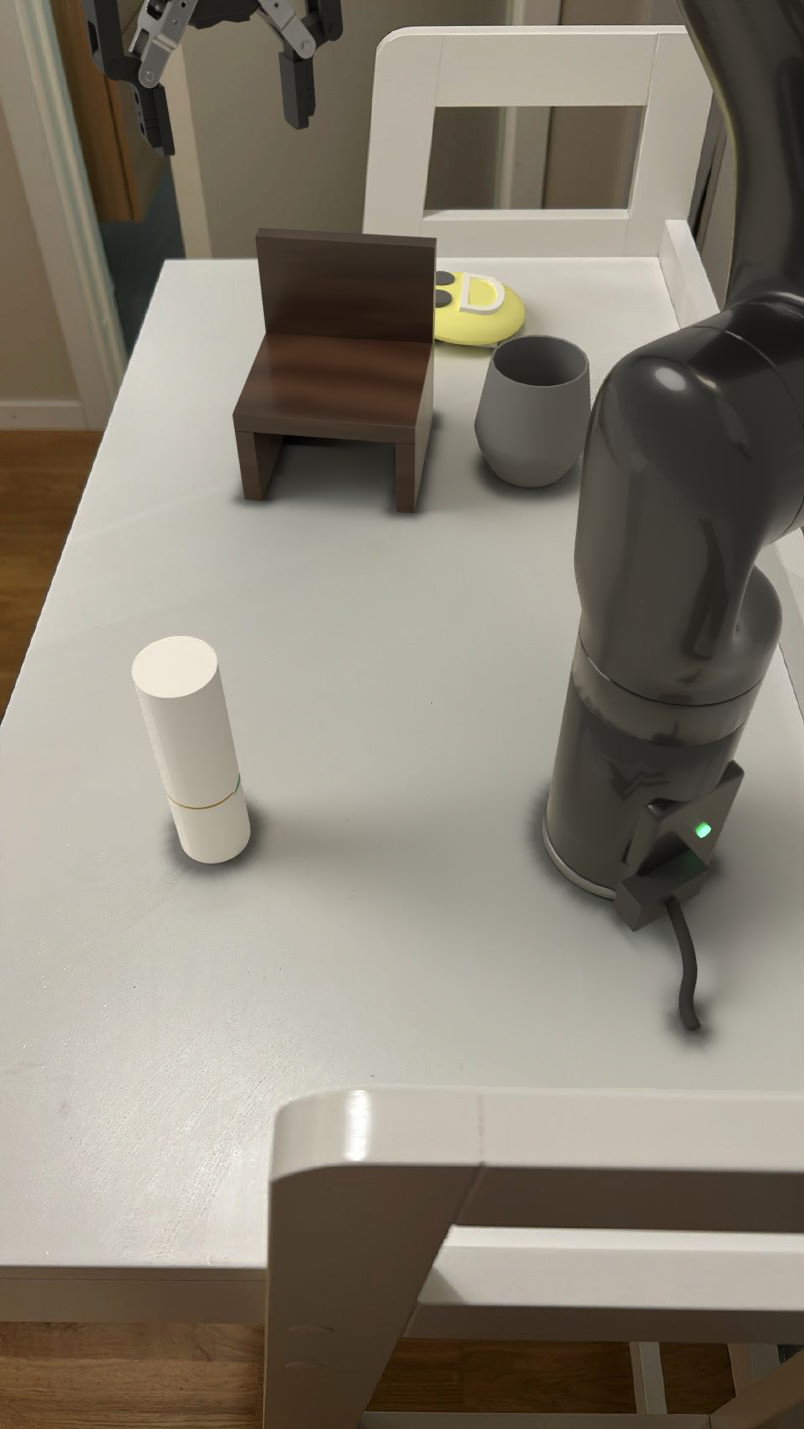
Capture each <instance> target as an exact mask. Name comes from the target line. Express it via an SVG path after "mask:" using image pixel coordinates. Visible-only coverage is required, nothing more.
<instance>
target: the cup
mask: <svg viewBox="0 0 804 1429" xmlns="http://www.w3.org/2000/svg"><path fill="white" fill-rule="evenodd" d="M590 372H591V370H590V361H589V358H588V355H587V353H586V352H585V351H584V350H583V349H582V348H581V347H580V346H578V345H577V344H575V343H573V342H572V341H569V340H567V339H565V338H562V337H557V336H552V335H547V334H527V335H519V336H515V337H512V338H509V339H507V340H504V341H502V342H501V343H499V345H497V347H496V348H493V351H492V353H491V356H490V359H489V362H488V367H487V371H486V375H485V379H484V383H483V387H482V390H481V395H480V398H479V402H478V406H477V410H476V415H475V419H474V423H473V427H474V433H475V437H476V441H477V445H478V447H479V449H480V451H481V453H482V454H483V456H484V458H485V460H486V463H487V464H488V466H489V467H490V469H491V470H492V472H493V473H494V474H495V475H496V476H497V477H498V478H499V479H501V480H503V481H504V482H506V483H508V484H510V485H514V486H517V487H521V488H534V489H535V488H541V487H545V486H549V485H552V484H553V483H556V482H558V481H559V480H560V479H562V477H564V475H566V473H567V472H568V471H569V470H570V469H571V468H572V466H574V464H575V463H576V462H577V461H578V459H579V458H580V457H581V456H582V455H583V452H584V443H585V437H586V431H587V426H588V421H589V417H590V413H591V410H592V401H591V400H592V399H591V376H590V374H591V373H590Z"/></svg>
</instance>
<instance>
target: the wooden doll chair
mask: <svg viewBox="0 0 804 1429" xmlns="http://www.w3.org/2000/svg"><path fill="white" fill-rule="evenodd" d="M254 241H255V250H256V257H257V258H256V259H257V267H258V275H259V283H260V293H261V294H260V295H261V303H262V304H261V305H262V310H263V318H264V319H263V320H264V321H263V322H264V332H265V333H264V335H263V337H262V340H261V343H260V345H259V347H258V350H257V353H256V355H255V358H254V359H253V362H252V365H251V367H250V370H249V372H248V375H247V377H246V380H245V382H244V384H243V386H242V389H241V391H240V394H239V396H238V399H237V401H236V404H235V407H234V409H233V411H232V414H231V415H232V423H233V430H234V437H235V442H236V450H237V458H238V464H239V471H240V478H241V486H242V493H243V498H244V499H243V500H249V501H250V500H252V501H263V499H264V496H265V494H266V491H267V487H268V485H269V481H270V479H271V476H272V473H273V470H274V468H275V465H276V462H277V460H278V459H277V458H278V456H279V453H280V449H281V447H282V444H283V441H284V438H285V436H296V437H297V436H298V437H299V436H300V437H309V438H311V437H313V438H324V439H325V438H327V439H338V440H351V441H364V442H365V441H366V442H377V443H378V442H380V443H394V444H395V511H396V512H401V513H402V512H403V513H415V512H416V506H417V502H418V497H419V492H420V486H421V480H422V475H423V471H424V465H425V461H426V460H425V459H426V454H427V448H428V445H429V439H430V435H431V434H430V433H431V430H432V425H433V424H432V423H433V418H434V384H435V383H434V381H435V380H434V379H435V343H436V342H435V340H436V339H435V298H436V271H437V249H438V247H437V245H438V238H437V237H430V236H429V237H428V236H414V235H413V236H412V235H395V234H376V233H375V234H374V233H357V232H343V231H342V232H341V231H326V230H325V231H323V230H305V229H289V228H288V229H287V228H271V227H258V229H257V232H256V233H255V236H254Z"/></svg>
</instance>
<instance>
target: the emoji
mask: <svg viewBox="0 0 804 1429" xmlns="http://www.w3.org/2000/svg"><path fill="white" fill-rule="evenodd" d="M525 319H526V307H525V305H524V302H523V300H522V299H521V297H520V296H519V295H518V294H517V293H516V292H515V291H514V289H512V288H511V287H509V286H508V285H507V284H504V283H503V282H501V281H499V280H498V279H496V278H494V277H491V276H488V275H484V274H479V273H473V272H466V271H445V270H436V298H435V340H439V341H441V342H442V341H443V342H446V343H450V344H454V345H464V346H468V347H469V346H470V347H477V348H491V349H495V348H496V347H498V343H499V342H500V341H503V340H505V339H507V338H510V337H511V336H513V335H514V334H515V333H517V332H518V331H519V329H520V328H521V327H522V325H523V324H524V322H525Z"/></svg>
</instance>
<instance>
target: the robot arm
mask: <svg viewBox="0 0 804 1429" xmlns="http://www.w3.org/2000/svg"><path fill="white" fill-rule="evenodd" d="M341 2H342V1H341V0H304V8H305V16H304V17H302V18H299V17H298V16H297V13H296V10H295V9H294V7H293V6H292V5H291V3H290V2H289V1H288V0H144V2H143V3H142V6H141V9H140V11H139V14H138V16H137V27H136V31H135V33H134V36H133V38H132V40H131V43H130V45H129V47H128V50H126V49H124V44H123V36H122V34H123V33H122V29H121V20H120V13H119V6H118V0H81V3H82V8H83V10H82V11H83V17H84V22H85V27H86V28H85V29H86V36H87V42H88V48H89V54H90V59H91V62H92V63H93V65H94V66H95V67H96V68H97V69H98V70H99V71H101V73H102V74H104V75H105V76H106V77H107V78H108V79H109V80H111V81H114V82H119V81H123V82H127V83H129V85H130V86H131V88H130V89H131V93H132V98H133V99H132V100H133V103H134V109H135V113H136V119H137V120H136V121H137V125H138V130H139V133H140V135H141V137H142V139H143V140H144V142H145V143H147V144H148V146H149V147H150V148H152V149H153V150H154V151H155V152H156V153H158V155H159V156H160V157H161V158H162V159H163V158H168V157H173V156H175V155H176V148H175V142H174V136H173V130H172V124H171V118H170V112H169V105H168V99H167V94H166V87H165V86H164V85H163V84H162V83H161V82H160V81H161V78H162V75H163V73H164V70H165V68H166V66H167V63H168V62H169V59H170V57H171V54H172V53H173V51H175V50H176V49H177V48H178V47H179V45H180V43H181V41H182V39H183V37H184V33H185V32H186V29H187V27H188V26H190V27H193V28H194V29H196V30H197V31H198V30H205V29H210V28H212V27H215V26H217V25H218V24H220V23H222V22H228V23H229V22H230V23H236V24H237V23H238V24H239V23H245V22H250V21H251V17H252V16H253V15H254V14H257V15H258V17H260V18H261V19H262V20H263V21H264V22H265V24H266V25H267V26H268V27H269V29H270V30H271V31H272V33H273V34H274V35H275V36H276V38H277V39H278V40H279V41H280V43H281V44H282V48H283V51H278V52H277V53H278V64H279V73H280V74H279V76H280V87H281V96H282V106H283V115H284V120H285V121H286V123H287V124H288V125H289V126H290V127H292V128H293V129H295V131H299V130H303V129H304V130H305V129H308V128H309V126H310V119H309V118H310V117H314V115H315V112H316V107H317V104H316V102H317V101H316V90H315V75H314V74H315V73H314V55H315V53H316V51H317V50H318V49H319V48H320V47H321V46H323V45H324V44H326V43H327V42H329V41H330V42H336V41H338V40H339V39H340V38H341V37H342V35H343V33H344V21H343V12H342V11H343V10H342V3H341ZM673 2H674V5H675V7H676V9H677V12H678V15H679V16H680V19H681V20H682V21H681V22H682V23H683V25H684V28H685V30H686V32H687V34H688V37H689V39H690V41H691V44H692V46H693V48H694V50H695V53H696V55H697V58H698V59H699V62H700V64H701V66H702V68H703V70H704V73H705V75H706V77H707V80H708V82H709V84H710V87H711V89H712V92H713V95H714V98H715V101H716V102H717V106H718V108H719V111H720V113H721V116H722V121H723V124H724V128H725V133H726V137H727V143H728V149H729V156H730V161H731V178H732V180H731V181H732V223H731V241H730V243H731V244H730V254H729V263H728V264H729V265H728V273H727V279H726V280H727V281H726V287H725V293H724V298H723V301H722V307H721V308H720V312H718V313H716V314H713V315H711V316H708V317H706V318H704V319H701V320H699V321H696V322H694V323H691V324H689V325H688V326H685V327H682V328H680V329H678V330H676V331H673V332H671V333H668V334H665V335H663V336H661V337H659V338H656V339H654V340H652V341H650V342H647V343H645V344H643V345H641V346H639V347H637V348H634V349H633V350H631V351H630V352H628V353H627V354H625V355H624V356H622V357H621V358H620V359H619V360H618V361H617V362H616V363H615V364H614V365H613V366H612V367H611V368H610V370H609V371H608V373H606V376H605V377H604V379H603V381H602V383H601V384H600V386H599V389H598V390H597V393H596V396H595V398H594V401H593V403H592V405H591V413H590V417H589V421H588V426H587V431H586V437H585V443H584V452H583V453H582V460H581V461H582V462H581V472H580V473H581V474H580V485H579V495H578V507H577V518H576V528H575V538H574V547H573V548H574V550H573V567H574V569H573V570H574V578H575V584H576V588H577V589H576V590H577V593H578V597H579V603H580V607H581V610H580V617H579V622H578V628H577V633H576V634H577V635H576V641H575V646H574V652H573V657H572V662H571V666H570V667H571V668H570V672H569V678H568V685H567V691H566V695H565V700H564V707H563V712H562V718H561V723H560V730H559V735H558V741H557V746H556V751H555V752H556V753H555V757H554V764H553V768H552V774H551V779H550V780H551V781H550V788H549V794H548V799H547V801H546V803H545V808H544V812H543V818H542V823H541V824H542V828H541V830H542V840H543V842H544V846H545V849H546V851H547V854H548V855H549V858H550V859H551V861H552V862H553V864H554V865H555V866H556V868H557V869H558V870H559V871H560V872H561V873H562V874H563V875H564V876H565V877H566V879H568V880H569V881H571V882H572V883H574V884H575V885H577V886H578V887H580V888H581V889H582V890H585V891H587V892H589V893H591V894H594V895H597V896H599V897H602V898H605V899H610V900H613V903H612V906H611V907H612V909H613V910H614V911H615V912H616V914H617V915H618V916H619V917H620V918H621V920H622V921H623V922H624V923H625V924H626V925H627V927H628V928H629V929H630V930H631V932H632V933H636V932H637V931H639V930H641V929H642V928H644V927H646V926H648V925H649V924H650V923H651V924H652V923H653V922H654V921H656V920H657V919H659V918H661V917H662V916H665V915H666V914H667V915H668V916H669V920H670V923H671V925H672V928H673V932H674V935H675V937H676V939H677V944H678V947H679V951H680V957H681V964H682V977H681V982H680V988H679V992H678V993H679V994H678V1007H679V1013H680V1016H681V1019H682V1021H683V1024H684V1026H685V1028H686V1031H687V1032H695V1031H697V1030H699V1029H701V1027H702V1025H701V1023H700V1020H699V1018H698V1016H697V1014H696V1011H695V1005H694V997H695V991H696V987H697V981H698V961H697V954H696V949H695V945H694V941H693V938H692V935H691V932H690V929H689V926H688V923H687V921H686V917H685V914H684V912H683V910H682V904H684V903H686V902H688V901H689V900H690V899H693V898H694V897H696V896H698V895H700V893H701V891H702V888H703V886H704V884H705V881H706V878H707V876H708V873H709V871H710V867H709V863H710V861H711V858H712V856H713V854H714V852H715V849H716V846H717V844H718V842H719V839H720V837H721V834H722V831H723V829H724V827H725V825H726V822H727V820H728V817H729V814H730V812H731V809H732V807H733V804H734V802H735V800H736V797H737V795H738V793H739V790H740V788H741V785H742V782H743V780H744V778H745V775H746V774H745V770H744V768H743V767H742V766H741V765H740V764H739V763H738V762H737V761H736V760H735V759H734V757H735V755H736V753H737V751H738V750H737V749H738V747H739V744H740V741H741V739H742V737H743V734H744V732H745V728H746V727H747V724H748V721H749V718H750V716H751V713H752V710H753V708H754V706H755V703H756V701H757V698H758V695H759V694H760V690H761V687H762V685H763V682H764V680H765V678H766V675H767V672H768V669H769V667H770V665H771V662H772V659H773V657H774V656H775V652H776V649H777V646H778V644H779V641H780V637H781V634H782V628H783V617H784V616H783V608H782V603H781V600H780V597H779V594H778V592H777V590H776V588H775V586H774V585H773V583H772V582H771V581H770V579H769V578H768V576H766V574H765V573H764V572H763V571H762V570H761V569H760V568H759V567H758V566H757V565H756V564H755V563H756V560H757V558H758V556H759V554H760V552H761V551H762V549H764V548H766V547H767V546H769V545H771V544H773V543H775V542H777V541H778V540H780V539H782V538H784V537H786V536H787V535H790V534H791V533H792V532H795V531H797V530H798V529H800V528H802V527H804V0H673Z"/></svg>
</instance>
